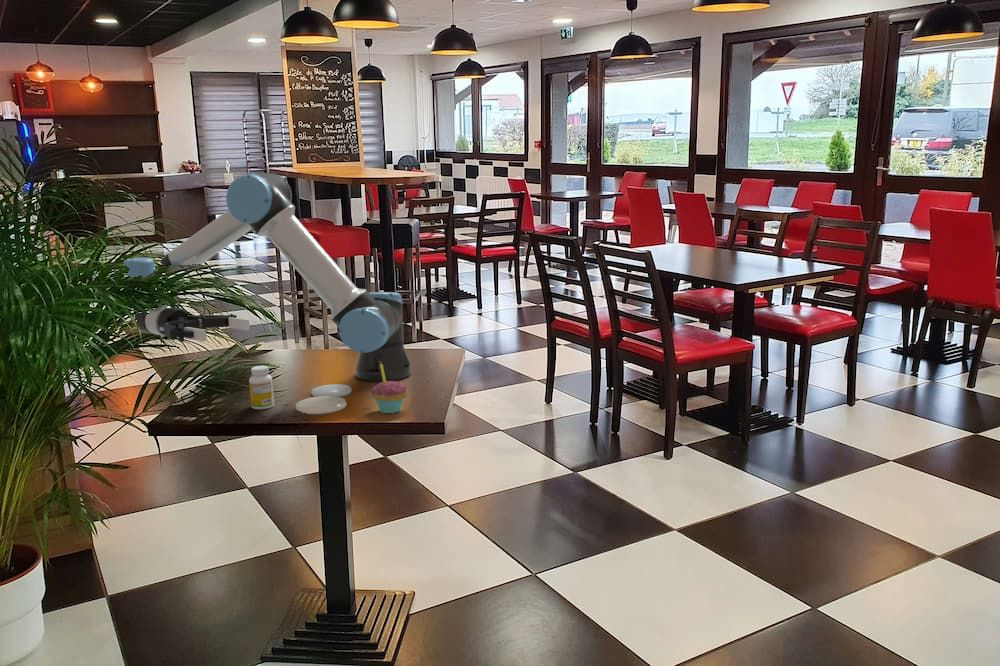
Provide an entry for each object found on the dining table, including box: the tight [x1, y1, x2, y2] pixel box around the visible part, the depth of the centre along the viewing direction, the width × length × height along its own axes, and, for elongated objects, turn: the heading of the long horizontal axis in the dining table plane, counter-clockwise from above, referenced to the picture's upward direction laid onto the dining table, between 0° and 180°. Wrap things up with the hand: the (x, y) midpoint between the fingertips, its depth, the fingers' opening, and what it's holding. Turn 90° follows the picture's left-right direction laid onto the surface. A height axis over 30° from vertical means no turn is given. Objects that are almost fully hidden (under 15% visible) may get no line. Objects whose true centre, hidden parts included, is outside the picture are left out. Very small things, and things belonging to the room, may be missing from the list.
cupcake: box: [370, 362, 409, 414], centre depth 191 cm, size 9×8×12 cm
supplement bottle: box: [248, 365, 275, 410], centre depth 196 cm, size 5×5×10 cm
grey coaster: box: [310, 383, 352, 398], centre depth 207 cm, size 10×10×1 cm
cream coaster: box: [295, 396, 347, 415], centre depth 196 cm, size 12×12×1 cm
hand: (227, 330), depth 198 cm, fingers open, 13 cm apart
